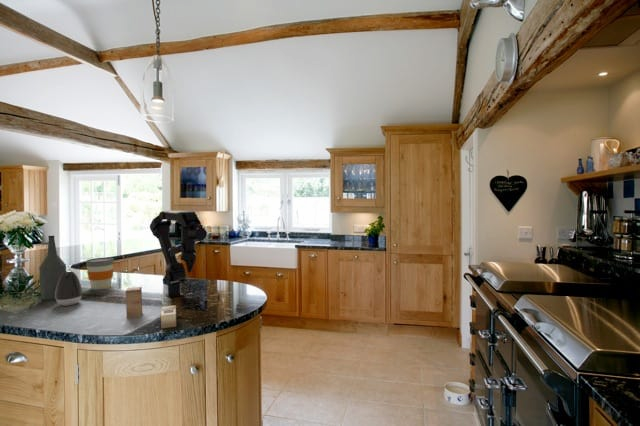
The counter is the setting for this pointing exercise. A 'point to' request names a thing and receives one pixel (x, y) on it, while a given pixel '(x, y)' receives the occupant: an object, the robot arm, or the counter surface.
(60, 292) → the aroma diffuser
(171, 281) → the robot arm
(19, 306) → the counter surface
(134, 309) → the walnut block
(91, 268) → the reusable coffee cup
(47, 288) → the bottle
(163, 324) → the maple block
